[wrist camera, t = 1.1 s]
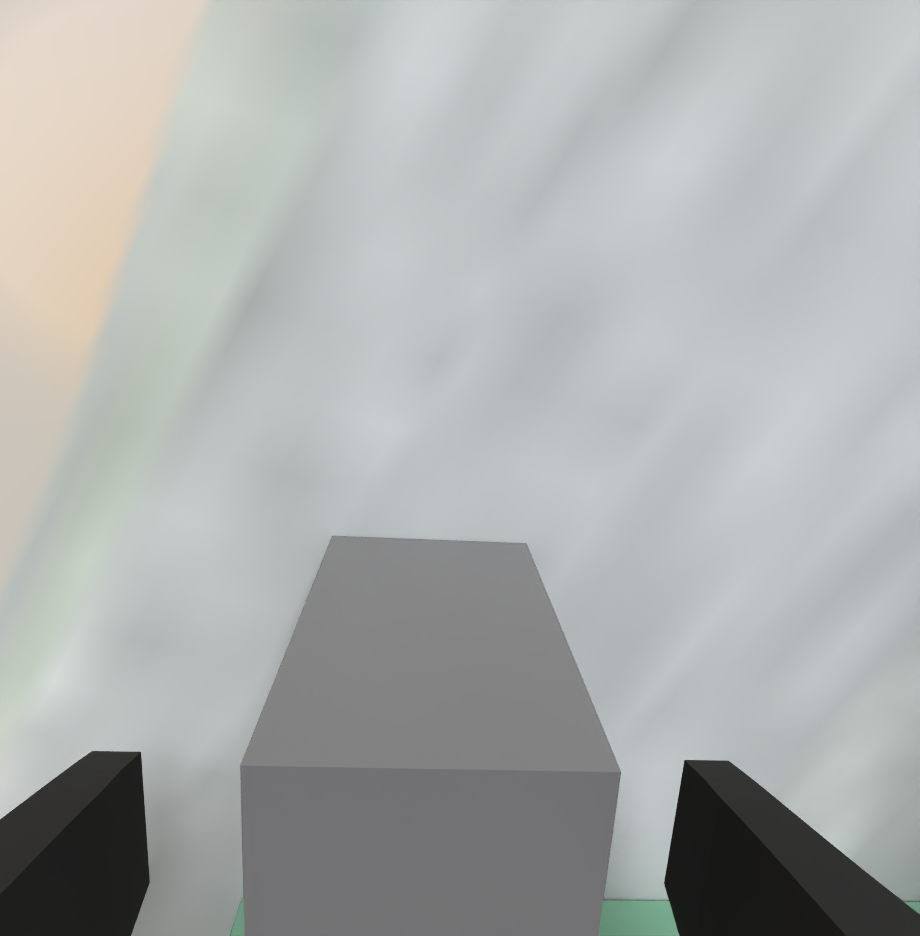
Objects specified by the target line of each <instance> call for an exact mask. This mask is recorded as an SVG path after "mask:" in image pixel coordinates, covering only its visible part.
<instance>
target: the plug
mask: <svg viewBox="0 0 920 936" xmlns="http://www.w3.org/2000/svg"><path fill="white" fill-rule="evenodd" d="M240 771H241V812H242V852H243V893H244V934H245V936H598V934H599V927H600V920H601V913H602V905H603V898H604V891H605V884H606V877H607V869H608V862H609V855H610V848H611V841H612V834H613V826H614V819H615V812H616V805H617V798H618V790H619V783H620V776H621V771H620V768H619V766H618V764H617V761H616V759H615V756H614V754H613V752H612V749H611V747H610V744H609V742H608V739H607V737H606V735H605V732H604V730H603V727H602V725H601V722H600V720H599V718H598V715H597V713H596V710H595V708H594V706H593V703H592V701H591V698H590V696H589V693H588V691H587V689H586V686H585V684H584V681H583V679H582V677H581V674H580V672H579V669H578V667H577V664H576V662H575V660H574V657H573V655H572V652H571V650H570V648H569V645H568V643H567V640H566V638H565V635H564V633H563V631H562V628H561V626H560V623H559V621H558V619H557V616H556V614H555V611H554V609H553V606H552V604H551V602H550V599H549V597H548V594H547V592H546V590H545V587H544V585H543V582H542V580H541V577H540V575H539V573H538V570H537V568H536V565H535V563H534V561H533V558H532V556H531V553H530V551H529V548H528V546H527V544H526V543H500V542H474V541H449V540H423V539H398V538H372V537H346V536H332V538H331V540H330V543H329V545H328V548H327V550H326V553H325V555H324V558H323V560H322V563H321V565H320V568H319V570H318V573H317V575H316V578H315V580H314V583H313V585H312V588H311V590H310V593H309V595H308V598H307V600H306V603H305V605H304V608H303V610H302V613H301V615H300V618H299V620H298V623H297V625H296V628H295V630H294V633H293V635H292V638H291V640H290V643H289V645H288V648H287V650H286V653H285V655H284V658H283V660H282V663H281V665H280V668H279V670H278V673H277V675H276V678H275V680H274V683H273V685H272V688H271V690H270V693H269V695H268V698H267V700H266V703H265V705H264V708H263V710H262V713H261V715H260V718H259V720H258V723H257V725H256V728H255V730H254V733H253V735H252V738H251V740H250V743H249V745H248V748H247V750H246V753H245V755H244V758H243V760H242V763H241V765H240Z"/></svg>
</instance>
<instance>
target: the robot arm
mask: <svg viewBox="0 0 920 936" xmlns="http://www.w3.org/2000/svg"><path fill="white" fill-rule="evenodd" d="M149 882H150V881H149V866H148V851H147V836H146V821H145V806H144V791H143V777H142V762H141V752H110V751H92V752H90V753H89V754H88V755H86V756H85V757H83V758H82V759H80V760H79V761H78V762H76V763H75V764H73V765H72V766H71V767H69V768H68V769H67V770H65V771H64V772H63V773H61V774H60V775H59V776H57V777H56V778H55V779H53V780H52V781H51V782H49V783H48V784H47V785H45V786H44V787H43V788H41V789H40V790H39V791H37V792H36V793H35V794H33V795H32V796H31V797H29V798H28V799H27V800H25V801H24V802H23V803H21V804H20V805H19V806H17V807H16V808H15V809H14V810H12V811H11V812H10V813H8V814H7V815H6V816H4V817H3V818H2V819H0V936H131V934H132V931H133V928H134V925H135V922H136V920H137V917H138V914H139V911H140V908H141V905H142V902H143V900H144V897H145V894H146V891H147V888H148V885H149ZM664 884H665V888H666V891H667V895H668V898H669V902H670V905H671V909H672V912H673V916H674V919H675V923H676V926H677V930H678V933H679V936H920V914H919V913H917V912H916V911H915V910H914V909H912V908H911V907H910V906H908V905H907V904H906V903H905V902H903V901H902V900H901V899H899V898H898V897H897V896H895V895H894V894H893V893H892V892H890V891H889V890H888V889H887V888H885V887H884V886H883V885H882V884H880V883H879V882H878V881H876V880H875V879H874V878H873V877H871V876H870V875H869V874H868V873H866V872H865V871H864V870H863V869H861V868H860V867H859V866H858V865H856V864H855V863H854V862H853V861H852V860H850V859H849V858H848V857H847V856H845V855H844V854H843V853H842V852H840V851H839V850H838V849H837V848H836V847H834V846H833V845H832V844H831V843H829V842H828V841H827V840H826V839H824V838H823V837H822V836H821V835H820V834H818V833H817V832H816V831H815V830H814V829H812V828H811V827H810V826H809V825H808V824H806V823H805V822H804V821H803V820H801V819H800V818H799V817H798V816H797V815H795V814H794V813H793V812H792V811H791V810H789V809H788V808H787V807H786V806H784V805H783V804H782V803H781V802H780V801H778V800H777V799H776V798H775V797H774V796H772V795H771V794H770V793H769V792H767V791H766V790H765V789H764V788H763V787H761V786H760V785H759V784H758V783H756V782H755V781H754V780H753V779H751V778H750V777H749V776H748V775H746V774H745V773H744V772H742V771H741V770H740V769H738V768H737V767H736V766H734V765H733V764H732V763H730V762H729V761H708V760H685V761H684V767H683V773H682V779H681V785H680V791H679V797H678V803H677V809H676V815H675V821H674V827H673V833H672V839H671V845H670V851H669V857H668V863H667V869H666V875H665V882H664Z"/></svg>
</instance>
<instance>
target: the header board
mask: <svg viewBox="0 0 920 936" xmlns="http://www.w3.org/2000/svg"><path fill="white" fill-rule="evenodd" d="M905 903H906V904H907V905H908V906H910V907H911V908H912V909H914V910H915V911H916V912H917V913H919V914H920V902H905ZM230 936H245V934H244V899H241V902H240V906H239V909H238V912H237V915H236V919H235V922H234V925H233V928H232V931H231V935H230ZM598 936H679V933H678V930H677V926H676V923H675V919H674V916H673V912H672V909H671V905H670V902H669V901H636V900H603V905H602V913H601V920H600V927H599V934H598Z"/></svg>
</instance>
